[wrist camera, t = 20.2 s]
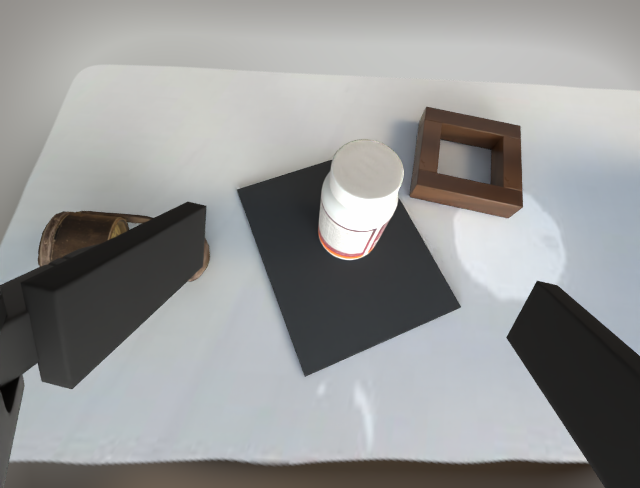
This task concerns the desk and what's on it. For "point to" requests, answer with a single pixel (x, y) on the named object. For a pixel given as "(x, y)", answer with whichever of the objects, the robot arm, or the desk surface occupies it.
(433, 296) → the desk mat
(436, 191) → the holder
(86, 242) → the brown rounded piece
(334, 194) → the pill bottle
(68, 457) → the desk surface
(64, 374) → the robot arm
